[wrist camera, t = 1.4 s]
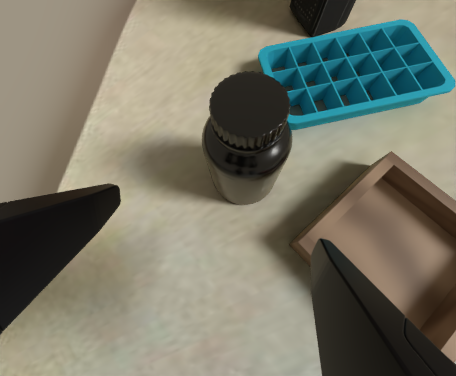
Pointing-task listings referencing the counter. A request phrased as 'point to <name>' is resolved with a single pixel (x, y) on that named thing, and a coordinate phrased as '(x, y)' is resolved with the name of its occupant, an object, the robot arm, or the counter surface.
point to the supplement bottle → (247, 136)
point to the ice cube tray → (357, 62)
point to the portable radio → (321, 14)
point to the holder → (397, 243)
